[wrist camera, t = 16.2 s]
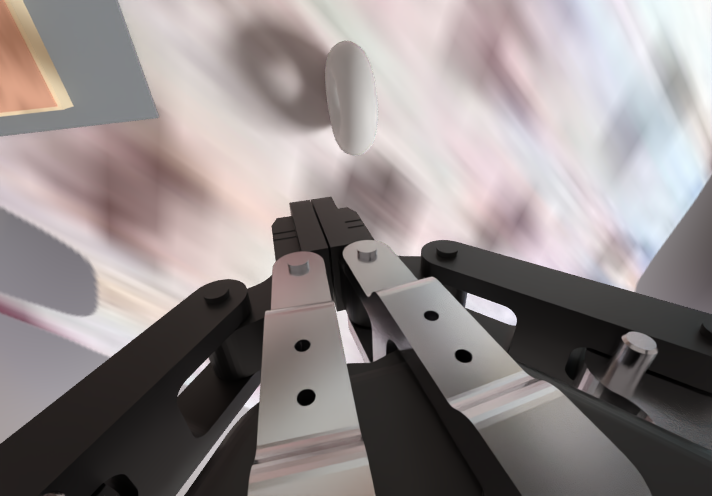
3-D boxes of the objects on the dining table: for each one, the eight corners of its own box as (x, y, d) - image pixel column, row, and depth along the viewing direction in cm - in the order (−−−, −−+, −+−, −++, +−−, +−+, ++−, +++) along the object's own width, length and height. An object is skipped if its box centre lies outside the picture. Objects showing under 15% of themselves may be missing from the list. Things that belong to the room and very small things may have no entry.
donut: (315, 43, 34) (337, 41, 25) (349, 39, 34) (381, 37, 26) (328, 145, 39) (350, 171, 30) (357, 140, 39) (386, 165, 31)
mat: (-192, -161, 21) (-203, -166, 21) (62, -155, 24) (57, -159, 23) (-8, 136, 30) (-12, 137, 30) (159, 116, 33) (157, 117, 33)
